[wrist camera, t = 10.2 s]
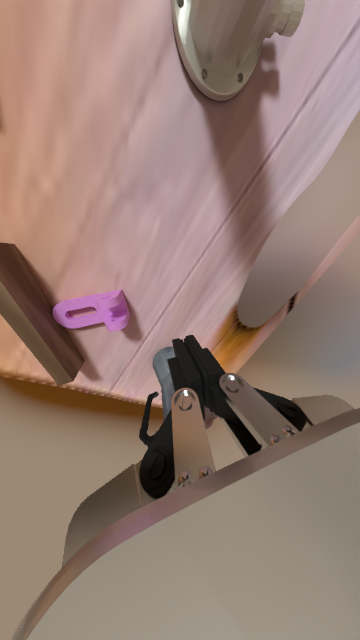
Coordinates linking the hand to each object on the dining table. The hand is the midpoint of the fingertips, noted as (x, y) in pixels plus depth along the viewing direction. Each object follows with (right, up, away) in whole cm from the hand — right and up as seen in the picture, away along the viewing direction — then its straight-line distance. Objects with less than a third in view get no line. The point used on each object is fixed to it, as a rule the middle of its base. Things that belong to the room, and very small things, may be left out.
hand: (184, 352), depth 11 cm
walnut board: (-26, +3, +15) cm, 30 cm away
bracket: (-18, +5, +17) cm, 25 cm away
